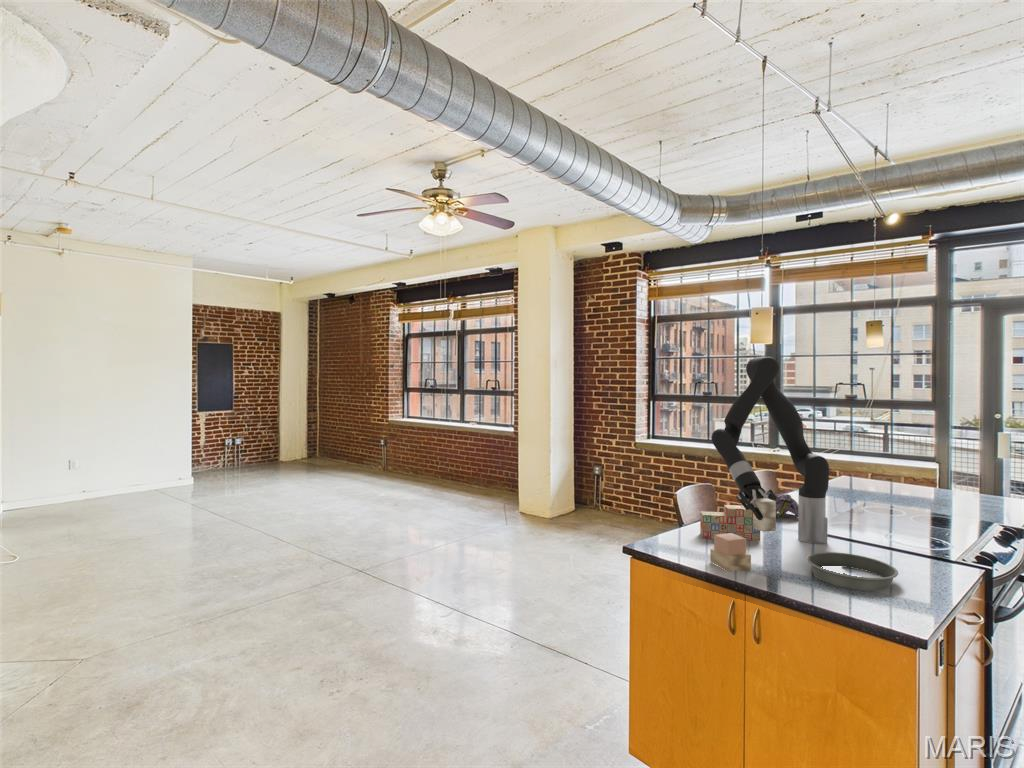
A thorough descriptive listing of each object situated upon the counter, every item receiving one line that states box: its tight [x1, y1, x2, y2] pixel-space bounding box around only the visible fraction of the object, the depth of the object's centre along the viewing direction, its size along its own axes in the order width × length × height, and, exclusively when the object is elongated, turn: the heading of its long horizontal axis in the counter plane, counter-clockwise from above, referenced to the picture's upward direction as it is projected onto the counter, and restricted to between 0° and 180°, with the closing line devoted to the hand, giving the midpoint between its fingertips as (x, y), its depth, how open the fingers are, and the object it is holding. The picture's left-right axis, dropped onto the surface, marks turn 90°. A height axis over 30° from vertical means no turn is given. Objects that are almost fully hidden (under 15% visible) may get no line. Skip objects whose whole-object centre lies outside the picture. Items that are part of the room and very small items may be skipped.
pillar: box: [753, 498, 777, 533], centre depth 191 cm, size 5×5×10 cm
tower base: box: [709, 547, 752, 572], centre depth 188 cm, size 9×9×5 cm
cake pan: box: [806, 551, 899, 591], centre depth 177 cm, size 25×25×4 cm
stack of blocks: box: [699, 504, 761, 542], centre depth 220 cm, size 21×6×12 cm, turn 79°
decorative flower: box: [773, 492, 799, 519], centre depth 252 cm, size 14×12×15 cm
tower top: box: [713, 533, 747, 556], centre depth 188 cm, size 7×7×5 cm
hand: (768, 518), depth 190 cm, fingers closed on pillar, 5 cm apart
